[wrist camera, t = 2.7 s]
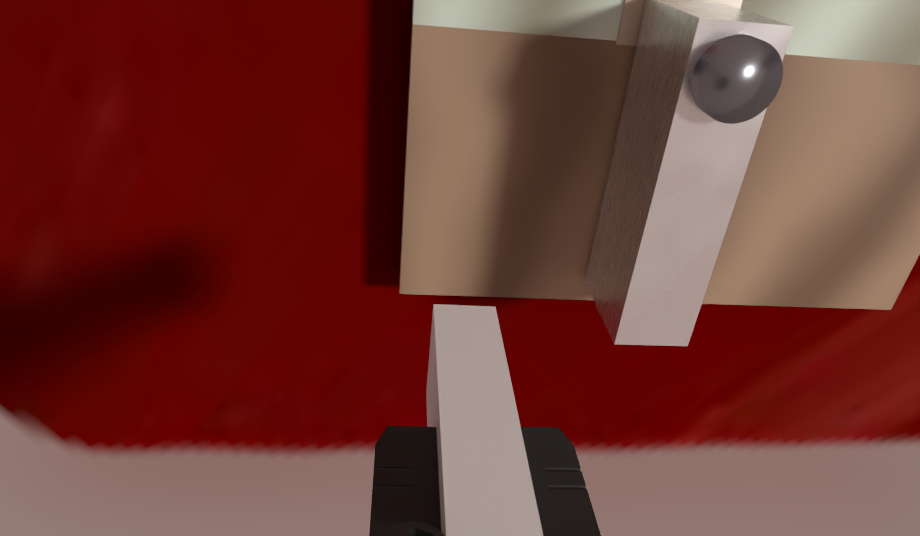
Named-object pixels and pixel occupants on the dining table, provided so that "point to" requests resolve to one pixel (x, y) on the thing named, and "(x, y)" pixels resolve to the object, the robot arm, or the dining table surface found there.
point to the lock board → (594, 135)
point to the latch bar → (680, 163)
